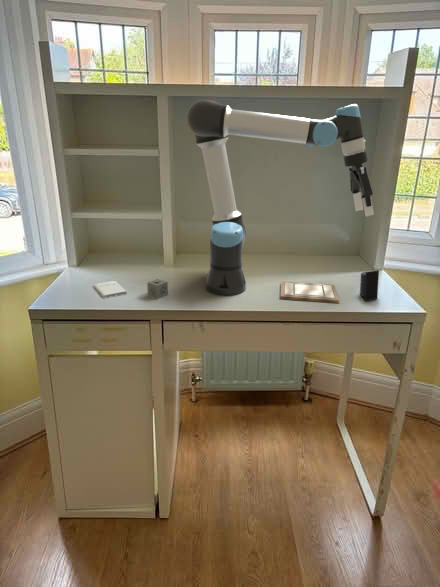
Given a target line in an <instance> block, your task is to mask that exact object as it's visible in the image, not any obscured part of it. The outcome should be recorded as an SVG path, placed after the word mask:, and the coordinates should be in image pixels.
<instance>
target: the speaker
mask: <svg viewBox="0 0 440 587" xmlns="http://www.w3.org/2000/svg"><path fill="white" fill-rule="evenodd" d="M379 274H380V270H378V269H377V270H371V271H370V270H369V271H362V272H361V273H360V286H359V296H361V297H364V299H363V300H364V301H365V302H367V301H372V300H378V291H379V290H378V289H379Z"/></svg>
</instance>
